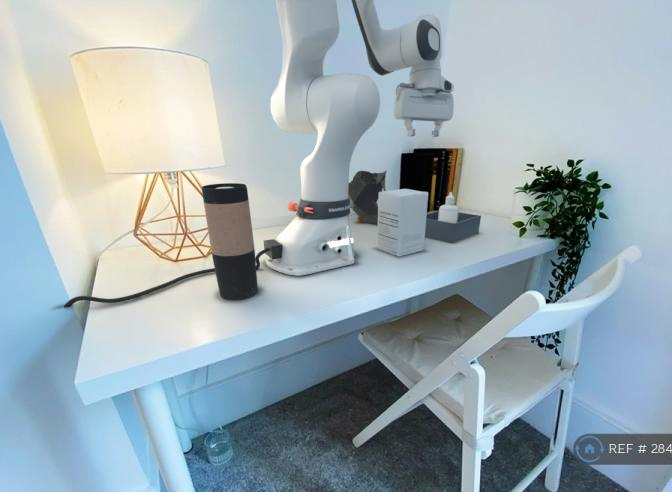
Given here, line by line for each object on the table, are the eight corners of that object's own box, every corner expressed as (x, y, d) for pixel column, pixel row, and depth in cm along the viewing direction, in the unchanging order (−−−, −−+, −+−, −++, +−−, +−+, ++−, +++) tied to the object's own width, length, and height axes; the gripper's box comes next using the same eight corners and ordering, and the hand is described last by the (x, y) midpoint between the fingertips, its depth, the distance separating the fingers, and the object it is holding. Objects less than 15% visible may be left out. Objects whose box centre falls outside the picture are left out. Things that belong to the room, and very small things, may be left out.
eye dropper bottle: (450, 235, 101) (455, 193, 96) (434, 232, 104) (438, 192, 100) (458, 232, 103) (463, 192, 98) (442, 229, 107) (446, 190, 102)
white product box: (400, 243, 95) (404, 188, 89) (424, 251, 88) (430, 191, 82) (375, 248, 91) (377, 191, 85) (398, 257, 84) (402, 195, 78)
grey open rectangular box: (452, 243, 95) (455, 223, 93) (413, 234, 104) (414, 216, 102) (478, 233, 104) (481, 215, 102) (440, 226, 113) (442, 209, 111)
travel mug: (210, 294, 65) (190, 186, 57) (240, 281, 71) (227, 182, 63) (237, 304, 61) (220, 190, 53) (267, 289, 67) (256, 184, 59)
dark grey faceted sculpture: (366, 216, 129) (367, 166, 121) (399, 222, 118) (402, 168, 111) (339, 222, 120) (339, 168, 113) (372, 229, 110) (374, 171, 102)
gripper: (403, 78, 92) (402, 134, 96) (458, 85, 101) (455, 135, 105) (389, 85, 98) (389, 137, 102) (442, 90, 106) (440, 138, 110)
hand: (423, 136), depth 103 cm, fingers open, 8 cm apart
